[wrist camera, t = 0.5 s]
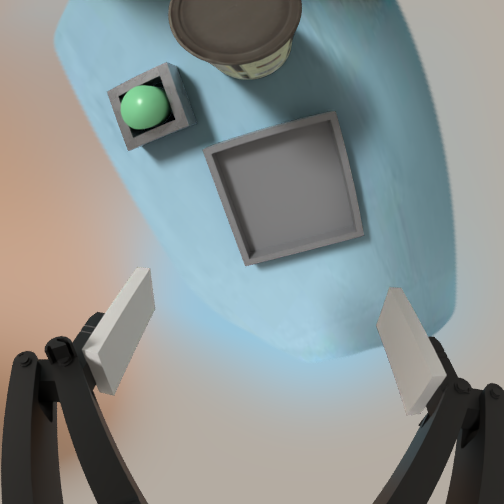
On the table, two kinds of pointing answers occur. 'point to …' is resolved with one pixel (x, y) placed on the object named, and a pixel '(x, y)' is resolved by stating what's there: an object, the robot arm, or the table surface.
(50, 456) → the robot arm
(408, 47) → the table surface
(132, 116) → the button
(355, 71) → the table surface
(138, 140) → the button housing
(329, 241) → the shallow gray tray
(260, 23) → the coffee can
